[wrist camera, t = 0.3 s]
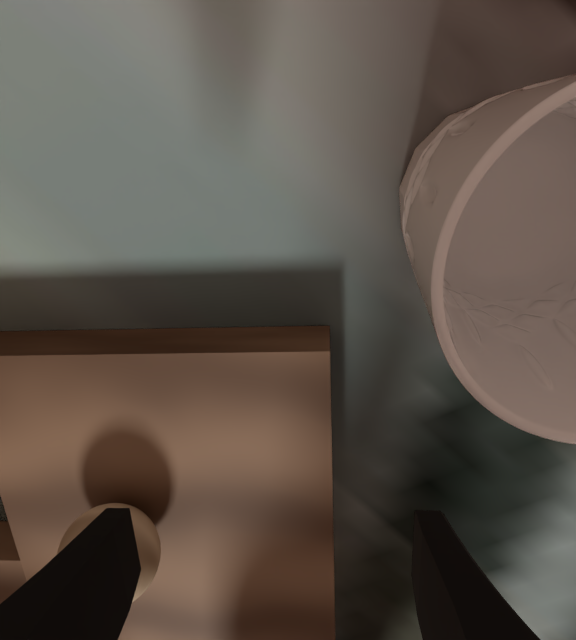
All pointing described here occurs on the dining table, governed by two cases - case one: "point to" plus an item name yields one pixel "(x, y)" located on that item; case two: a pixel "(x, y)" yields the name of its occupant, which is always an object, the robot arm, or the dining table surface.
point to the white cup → (502, 251)
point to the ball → (143, 534)
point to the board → (180, 468)
